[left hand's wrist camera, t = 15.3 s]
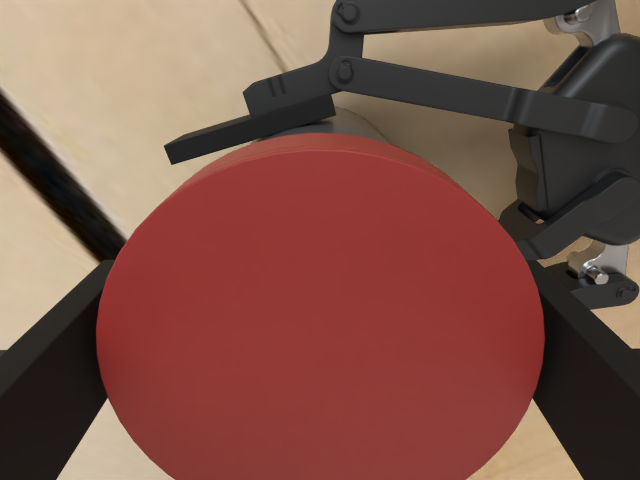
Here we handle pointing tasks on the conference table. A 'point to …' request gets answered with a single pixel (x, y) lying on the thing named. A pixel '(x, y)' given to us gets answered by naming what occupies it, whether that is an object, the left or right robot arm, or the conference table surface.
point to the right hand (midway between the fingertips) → (221, 253)
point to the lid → (320, 320)
